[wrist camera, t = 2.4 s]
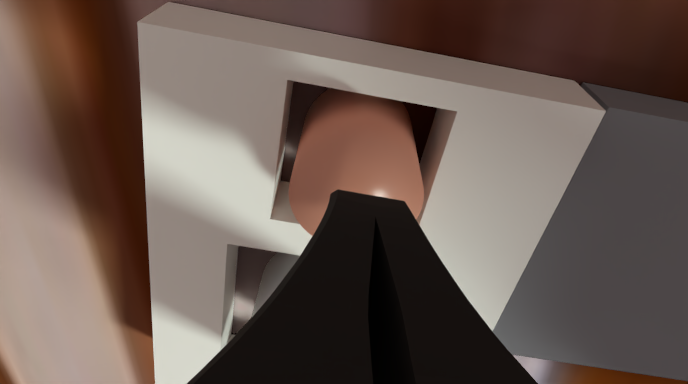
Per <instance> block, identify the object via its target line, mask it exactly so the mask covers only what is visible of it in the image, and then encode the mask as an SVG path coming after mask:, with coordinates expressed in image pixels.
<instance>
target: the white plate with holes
mask: <svg viewBox="0 0 688 384" xmlns="http://www.w3.org/2000/svg"><path fill="white" fill-rule="evenodd" d="M137 28H138V48H139V68H140V88H141V108H142V128H143V148H144V169H145V189H146V209H147V229H148V249H149V269H150V289H151V309H152V329H153V349H154V369H155V384H187V383H188V382H189V381H190V380H191V379H192V378H193V377H194V376H195V375H196V374H197V373H198V372H199V371H200V370H201V369H202V368H203V367H204V366H206V365H207V364H208V363H209V362H210V361H211V360H212V359H213V358H214V357H215V356H216V355H217V354H218V353H219V352H220V351H221V350H222V349H223V348H224V347H225V346H226V345H227V344H228V343H229V342H230V341H231V340H232V339H233V337H234V336H235V335H233V334H231V333H232V321H233V308H234V296H235V284H236V272H237V259H238V247H239V246H244V247H250V248H256V249H262V250H268V251H275V252H281V253H287V254H293V255H299V256H300V255H301V254H302V252H303V250H304V249H305V247H306V246H307V244H308V242H309V241H310V239H311V238H312V235H310V234H309V233H308V232H307V231H306V230H305V229H304V228H303V227H302V226H301V225H300V224H299V222H298V221H297V219H296V218H295V216H294V214H293V212H292V209H291V206H290V202H289V184H290V182H286V181H281V174H282V166H283V159H284V151H285V143H286V136H287V128H288V120H289V113H290V105H291V97H292V90H293V82H294V81H296V82H302V83H307V84H313V85H318V86H323V87H329V88H334V89H339V90H345V91H350V92H355V93H361V94H366V95H372V96H377V97H382V98H388V99H393V100H398V101H404V102H409V103H415V104H420V105H425V106H431V107H436V108H437V110H436V113H435V116H434V120H433V123H432V126H431V129H430V132H429V136H428V139H427V142H426V145H425V149H424V152H423V155H422V158H421V162H420V165H419V166H420V171H421V176H422V181H423V186H424V201H423V205H422V209H421V212H420V214H419V216H418V218H417V219H416V220H417V222H418V224H419V225H420V227H421V229H422V230H423V232H424V234H425V235H426V237H427V239H428V240H429V242H430V243H431V245H432V247H433V248H434V250H435V251H436V253H437V255H438V256H439V258H440V259H441V261H442V262H443V264H444V265H445V267H446V268H447V270H448V271H449V273H450V274H451V276H452V277H453V279H454V280H455V282H456V283H457V285H458V286H459V288H460V289H461V291H462V292H463V293H464V295H465V296H466V298H467V299H468V300H469V302H470V303H471V304H472V306H473V307H474V308H475V310H476V311H477V312H478V313H479V315H480V316H481V317H482V319H483V320H484V321H485V323H486V324H487V325H488V326H489V328H490V329H491V330H492V331H493V329H494V328H495V326H496V324H497V322H498V320H499V318H500V316H501V314H502V312H503V310H504V308H505V306H506V304H507V302H508V300H509V298H510V297H511V295H512V293H513V291H514V289H515V287H516V285H517V283H518V281H519V279H520V277H521V275H522V273H523V271H524V269H525V267H526V266H527V264H528V262H529V260H530V258H531V256H532V254H533V252H534V250H535V248H536V246H537V244H538V242H539V240H540V238H541V236H542V235H543V233H544V231H545V229H546V227H547V225H548V223H549V221H550V219H551V217H552V215H553V213H554V211H555V209H556V207H557V206H558V204H559V202H560V200H561V198H562V196H563V194H564V192H565V190H566V188H567V186H568V184H569V182H570V180H571V178H572V176H573V175H574V173H575V171H576V169H577V167H578V165H579V163H580V161H581V159H582V157H583V155H584V153H585V151H586V149H587V147H588V145H589V144H590V142H591V140H592V138H593V136H594V134H595V132H596V130H597V128H598V126H599V124H600V122H601V120H602V118H603V116H604V114H605V113H606V111H605V110H604V109H603V108H602V107H601V106H600V105H599V104H598V103H597V102H596V101H595V100H594V99H593V98H592V97H591V96H590V95H589V94H588V93H587V92H586V91H585V90H584V89H583V88H582V87H581V86H580V85H579V84H578V83H576V82H575V81H574V80H569V79H564V78H558V77H553V76H548V75H543V74H538V73H533V72H527V71H522V70H517V69H512V68H507V67H502V66H497V65H491V64H486V63H481V62H476V61H471V60H466V59H461V58H455V57H450V56H445V55H440V54H435V53H430V52H425V51H419V50H414V49H409V48H404V47H399V46H394V45H389V44H383V43H378V42H373V41H368V40H363V39H358V38H353V37H347V36H342V35H337V34H332V33H327V32H322V31H316V30H311V29H306V28H301V27H296V26H291V25H286V24H280V23H275V22H270V21H265V20H260V19H255V18H250V17H244V16H239V15H234V14H229V13H224V12H219V11H214V10H208V9H203V8H198V7H193V6H188V5H183V4H178V3H172V2H167V3H166V4H164V5H163V6H161V7H159V8H158V9H156V10H155V11H153V12H152V13H150V14H149V15H147V16H145V17H144V18H142V19H141V20H139V21H138V22H137Z"/></svg>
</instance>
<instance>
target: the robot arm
mask: <svg viewBox="0 0 688 384" xmlns="http://www.w3.org/2000/svg"><path fill="white" fill-rule="evenodd" d="M187 384H538V383H537V382H536V381H535V380H534V379H533V378H532V377H531V376H530V374H529V373H528V372H527V371H526V370H525V369H524V368H523V367H522V365H521V364H520V363H519V362H518V361H517V360H516V359H515V358H514V357H513V355H512V354H511V353H510V352H509V351H508V350H507V349H506V347H505V346H504V345H503V344H502V343H501V341H500V340H499V339H498V338H497V337H496V335H495V334H494V333H493V332H492V330H491V329H490V328H489V326H488V325H487V324H486V323H485V321H484V320H483V319H482V317H481V316H480V315H479V313H478V312H477V311H476V310H475V308H474V307H473V306H472V304H471V303H470V302H469V300H468V299H467V298H466V296H465V295H464V293H463V292H462V291H461V289H460V288H459V286H458V285H457V283H456V282H455V280H454V279H453V277H452V276H451V274H450V273H449V271H448V270H447V268H446V267H445V265H444V264H443V262H442V261H441V259H440V258H439V256H438V255H437V253H436V251H435V250H434V248H433V247H432V245H431V243H430V242H429V240H428V239H427V237H426V235H425V234H424V232H423V230H422V229H421V227H420V225H419V224H418V222H417V220H416V219H415V217H414V215H413V214H412V212H411V210H410V209H409V207H408V206H407V204H406V202H405V201H402V200H396V199H390V198H385V197H379V196H373V195H367V194H362V193H356V192H350V191H345V190H339V189H338V190H336V191H334V192H332V193H331V194H330V199H329V203H328V206H327V209H326V211H325V214H324V216H323V218H322V220H321V222H320V224H319V226H318V228H317V229H316V231H315V233H314V234H313V236H312V238H311V239H310V241H309V242H308V244H307V246H306V247H305V249H304V250H303V252H302V254H301V255H300V257H299V258H298V260H297V261H296V263H295V264H294V265H293V267H292V268H291V269H290V271H289V272H288V273H287V275H286V276H285V277H284V279H283V280H282V281H281V283H280V284H279V285H278V287H277V288H276V289H275V291H274V292H273V293H272V294H271V296H270V297H269V298H268V299H267V300H266V302H265V303H264V304H263V305H262V306H261V308H260V309H259V310H258V311H257V312H256V313H255V314H254V316H253V317H252V318H251V319H250V320H249V321H248V322H247V323H246V324H245V326H244V327H243V328H242V329H241V330H240V331H239V332H238V333H237V334H236V335H235V336H234V337H233V339H232V340H231V341H230V342H229V343H228V344H227V345H226V346H225V347H224V348H223V349H222V350H221V351H220V352H219V353H218V354H217V355H216V356H215V357H214V358H213V359H212V360H211V361H210V362H209V363H208V364H207V365H206V366H204V367H203V368H202V369H201V370H200V371H199V372H198V373H197V374H196V375H195V376H194V377H193V378H192V379H191V380H190V381H189V382H188V383H187Z"/></svg>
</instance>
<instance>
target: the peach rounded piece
mask: <svg viewBox="0 0 688 384" xmlns="http://www.w3.org/2000/svg"><path fill="white" fill-rule="evenodd" d="M338 189H339V190H345V191H350V192H356V193H362V194H367V195H373V196H379V197H385V198H390V199H396V200H402V201H405V202H406V204H407V206H408V207H409V209H410V210H411V212H412V214H413V215H414V217H415V219H417V218H418V216H419V214H420V212H421V209H422V205H423V201H424V186H423V181H422V176H421V171H420V166H419V161H418V156H417V150H416V145H415V140H414V135H413V130H412V125H411V120H410V116H409V114H408V111H407V109H406V108H405V106H404V104H403V103H402V102H401V101H398V100H393V99H388V98H382V97H377V96H372V95H366V94H361V93H355V92H350V91H345V90H339V89H334V88H330V89H328V90H326V91H325V92H323V93H322V94H321V95H320V96H319V97H318V98H317V99H316V100H315V101H314V102H313V104H312V105H311V106H310V108H309V110H308V112H307V115H306V117H305V121H304V125H303V130H302V134H301V138H300V142H299V146H298V150H297V155H296V159H295V163H294V167H293V171H292V175H291V180H290V184H289V202H290V206H291V209H292V212H293V214H294V216H295V218H296V219H297V221H298V222H299V224H300V225H301V226H302V227H303V228H304V229H305V230H306V231H307V232H308V233H309V234H310V235H312V236H313V234H314V233H315V231H316V229H317V228H318V226H319V224H320V222H321V220H322V218H323V216H324V214H325V211H326V209H327V206H328V203H329V199H330V194H331V193H332V192H334V191H336V190H338Z"/></svg>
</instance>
